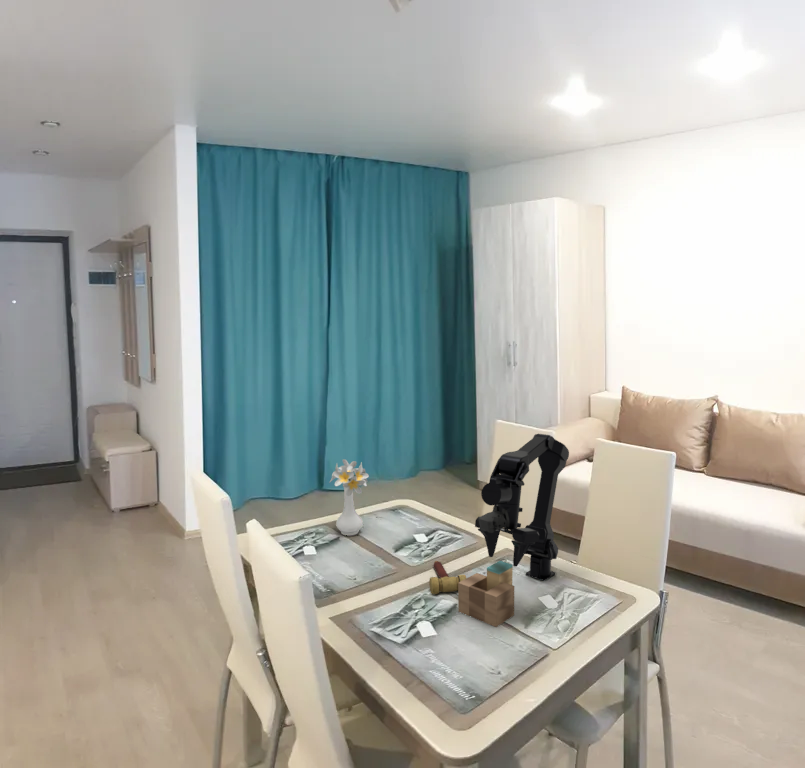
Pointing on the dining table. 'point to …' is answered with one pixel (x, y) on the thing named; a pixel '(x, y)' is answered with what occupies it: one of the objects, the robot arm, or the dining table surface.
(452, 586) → the gavel
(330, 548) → the dining table surface
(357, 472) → the flower vase
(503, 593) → the socket block
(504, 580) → the block
